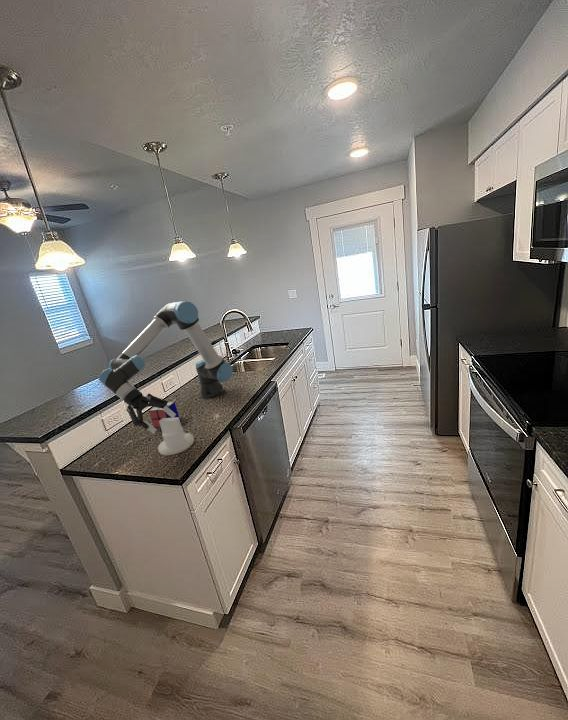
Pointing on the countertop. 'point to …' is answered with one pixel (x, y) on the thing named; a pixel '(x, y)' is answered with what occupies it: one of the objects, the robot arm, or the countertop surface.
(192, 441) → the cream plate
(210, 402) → the countertop surface
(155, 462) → the countertop surface
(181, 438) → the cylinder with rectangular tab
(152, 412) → the puzzle cube
